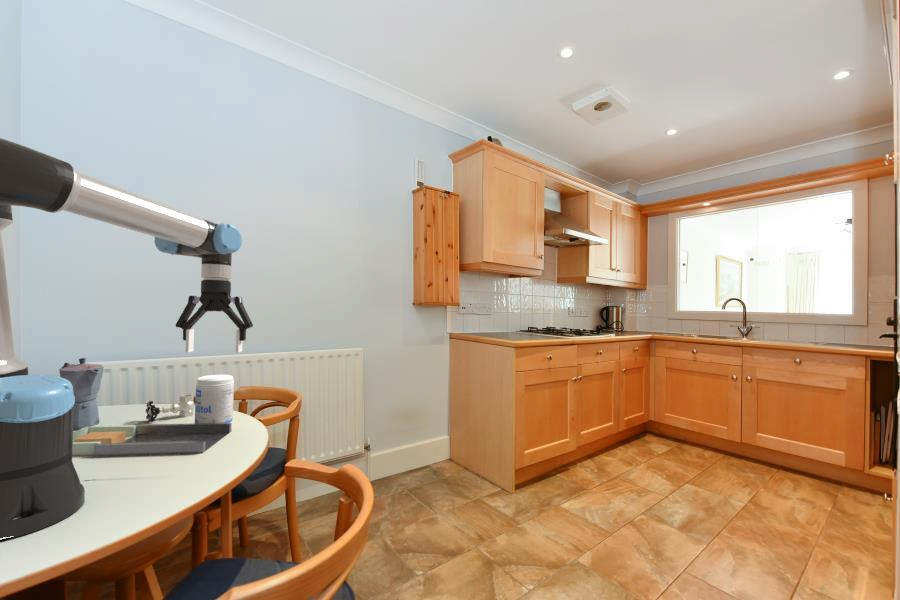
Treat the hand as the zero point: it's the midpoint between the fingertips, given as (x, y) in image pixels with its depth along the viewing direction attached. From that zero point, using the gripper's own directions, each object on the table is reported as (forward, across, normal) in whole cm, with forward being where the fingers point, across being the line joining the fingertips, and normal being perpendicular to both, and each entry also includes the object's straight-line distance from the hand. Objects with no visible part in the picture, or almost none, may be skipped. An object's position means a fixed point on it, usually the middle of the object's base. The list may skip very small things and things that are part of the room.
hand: (214, 352), depth 111 cm
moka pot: (+22, +39, -4) cm, 45 cm away
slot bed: (+22, +5, +12) cm, 26 cm away
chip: (+22, +23, +13) cm, 34 cm away
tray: (+22, +23, +12) cm, 34 cm away
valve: (+22, +17, -10) cm, 30 cm away
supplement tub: (+22, 0, -1) cm, 22 cm away
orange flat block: (+22, +18, +13) cm, 31 cm away
